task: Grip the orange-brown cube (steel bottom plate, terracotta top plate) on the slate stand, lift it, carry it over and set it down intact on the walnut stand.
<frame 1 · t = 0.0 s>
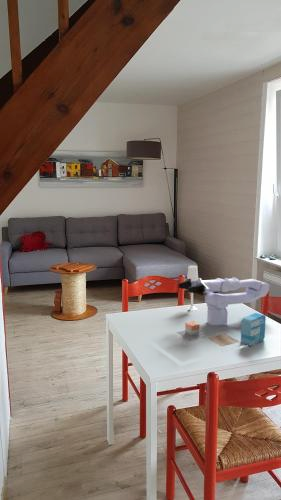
hand: (183, 287, 188), 22 cm above the table, tool horizontal, fingers open, 7 cm apart
champagne flute: (191, 309, 224), on the table
orange-brown cube: (192, 333, 188), point 1 cm above the table, touching slate stand
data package: (252, 342, 182), on the table
walnut stand: (223, 342, 181), on the table
slate stand: (192, 336, 188), on the table
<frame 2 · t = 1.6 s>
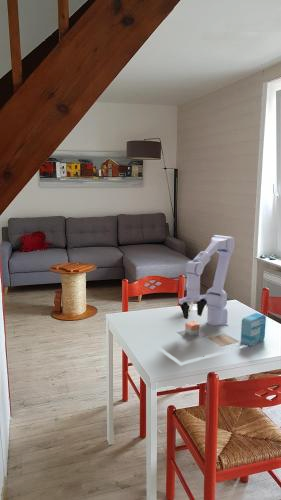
hand: (192, 316, 186), 9 cm above the table, tool pointing down, fingers open, 7 cm apart
nothing on the table moved.
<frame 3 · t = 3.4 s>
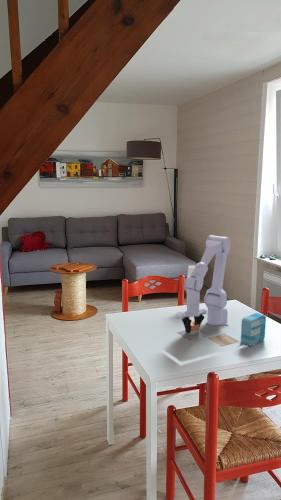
hand: (192, 331, 187), 2 cm above the table, tool pointing down, fingers closed on orange-brown cube, 5 cm apart
orange-brown cube: (192, 333, 188), point 1 cm above the table, touching gripper, slate stand
everything else where it was.
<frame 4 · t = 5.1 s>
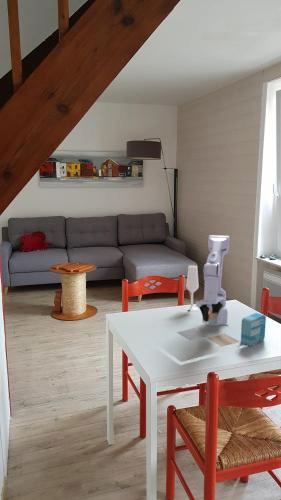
hand: (209, 319, 182), 9 cm above the table, tool pointing down, fingers closed on orange-brown cube, 5 cm apart
orange-brown cube: (209, 322, 183), point 8 cm above the table, touching gripper
everything else where it was.
when the fingers open (4 cm above the table, at t = 7.0 s): orange-brown cube drops 1 cm, resting on walnut stand.
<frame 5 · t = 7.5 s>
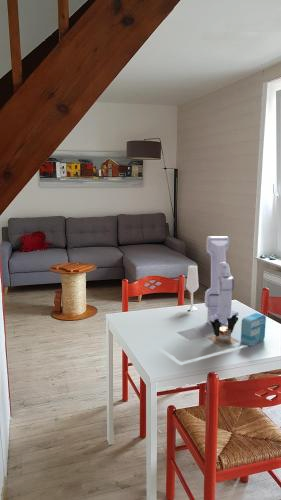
hand: (223, 333, 181), 4 cm above the table, tool pointing down, fingers open, 7 cm apart
orange-brown cube: (223, 339, 181), point 1 cm above the table, touching walnut stand
everything else where it was.
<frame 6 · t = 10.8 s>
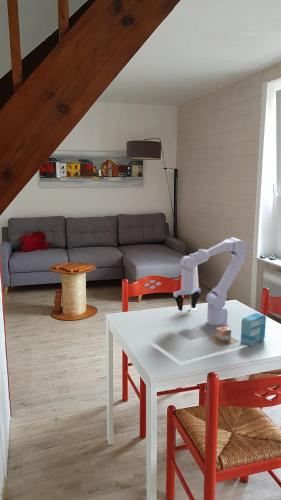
hand: (186, 309, 197), 9 cm above the table, tool pointing down, fingers open, 7 cm apart
nothing on the table moved.
at the end: orange-brown cube 0.2 cm off-centre on the walnut stand, point 1.2 cm above the walnut stand's base; orange-brown cube tilted 0°; the gripper is holding nothing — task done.
